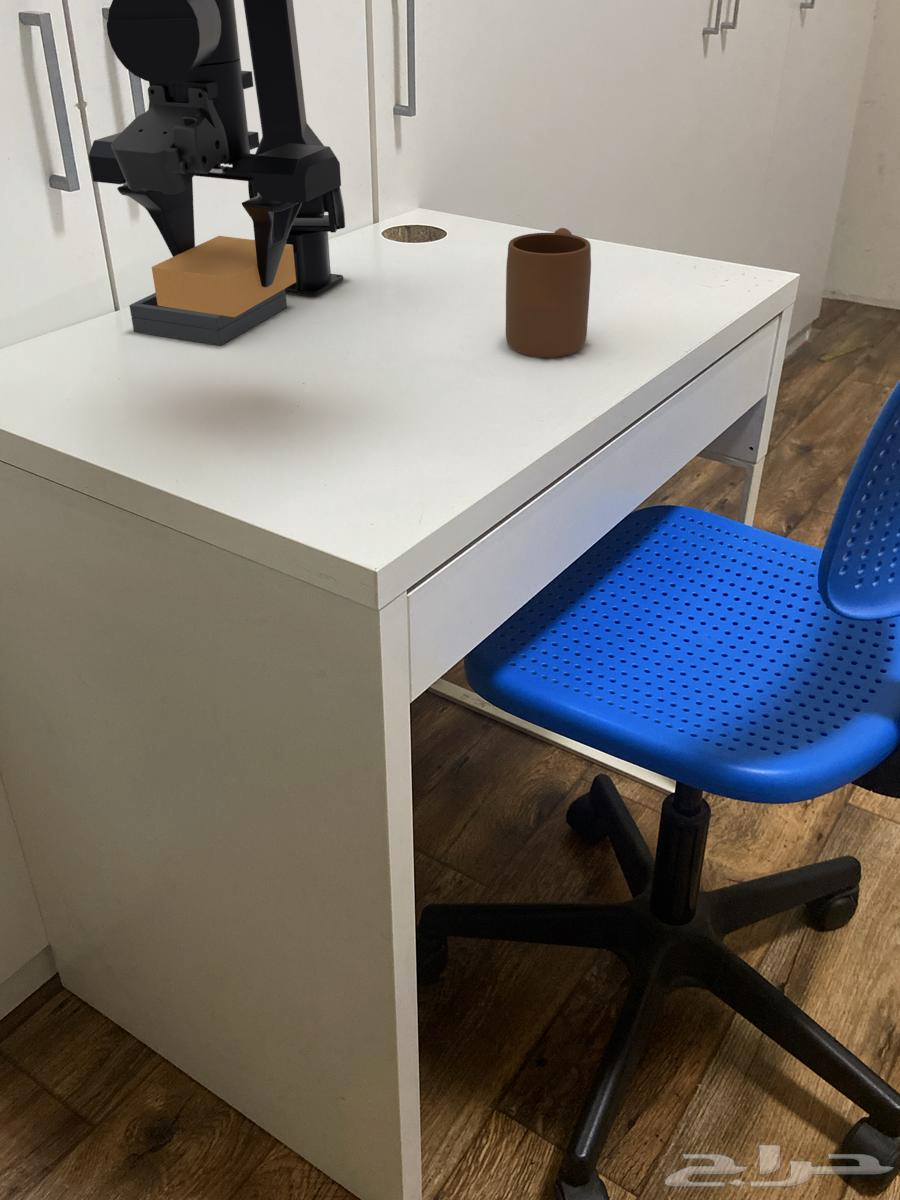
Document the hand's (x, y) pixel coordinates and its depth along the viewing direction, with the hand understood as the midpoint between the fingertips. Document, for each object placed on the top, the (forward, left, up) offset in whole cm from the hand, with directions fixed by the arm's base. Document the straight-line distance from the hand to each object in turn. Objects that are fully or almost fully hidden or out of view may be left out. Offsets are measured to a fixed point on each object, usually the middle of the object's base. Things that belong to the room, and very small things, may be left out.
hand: (227, 280), depth 86 cm
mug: (-25, +18, -11) cm, 33 cm away
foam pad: (0, 0, -1) cm, 1 cm away
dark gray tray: (-17, -15, -11) cm, 25 cm away
